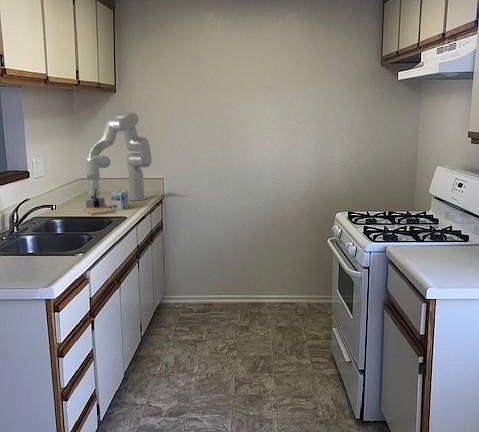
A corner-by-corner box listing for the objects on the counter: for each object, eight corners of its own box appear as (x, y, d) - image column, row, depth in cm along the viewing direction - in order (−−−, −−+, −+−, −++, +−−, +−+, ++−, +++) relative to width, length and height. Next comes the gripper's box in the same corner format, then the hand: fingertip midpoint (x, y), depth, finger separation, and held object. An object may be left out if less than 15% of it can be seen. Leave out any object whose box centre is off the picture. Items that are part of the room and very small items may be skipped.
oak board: (83, 209, 344) (82, 207, 344) (105, 207, 350) (105, 205, 350) (91, 215, 325) (90, 212, 324) (114, 212, 331) (114, 210, 331)
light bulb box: (122, 210, 340) (120, 192, 338) (111, 210, 341) (110, 192, 339) (128, 207, 350) (127, 190, 348) (118, 207, 351) (117, 190, 349)
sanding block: (86, 207, 344) (85, 199, 343) (104, 205, 348) (103, 197, 347) (86, 208, 339) (86, 200, 338) (105, 207, 342) (104, 199, 341)
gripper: (84, 176, 346) (86, 205, 349) (90, 179, 330) (92, 208, 334) (96, 175, 349) (98, 203, 352) (102, 178, 334) (104, 207, 337)
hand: (95, 206), depth 343 cm, fingers closed on sanding block, 6 cm apart
